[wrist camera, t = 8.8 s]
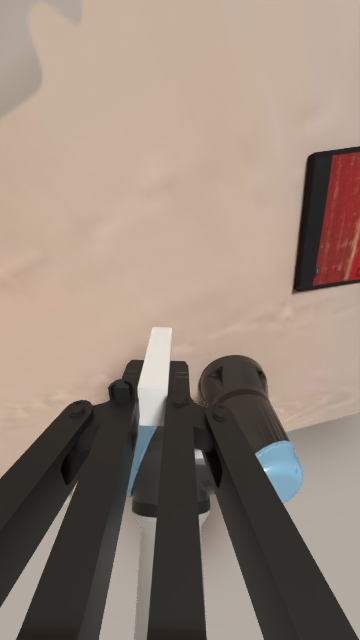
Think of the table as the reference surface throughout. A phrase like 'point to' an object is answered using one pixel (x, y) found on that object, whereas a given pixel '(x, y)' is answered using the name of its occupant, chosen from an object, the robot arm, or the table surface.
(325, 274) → the binder
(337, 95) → the table surface
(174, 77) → the table surface
